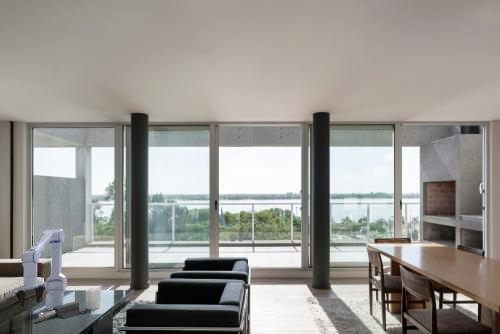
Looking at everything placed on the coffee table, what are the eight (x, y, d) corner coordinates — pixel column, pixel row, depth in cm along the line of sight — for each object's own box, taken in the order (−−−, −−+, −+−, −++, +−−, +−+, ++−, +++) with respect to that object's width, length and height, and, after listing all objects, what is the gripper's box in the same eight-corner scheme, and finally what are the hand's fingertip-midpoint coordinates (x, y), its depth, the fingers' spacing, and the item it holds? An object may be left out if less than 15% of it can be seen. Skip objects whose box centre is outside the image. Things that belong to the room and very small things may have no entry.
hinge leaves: (65, 318, 188) (65, 309, 189) (46, 314, 196) (46, 306, 197) (86, 311, 198) (86, 303, 199) (67, 308, 207) (67, 300, 207)
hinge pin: (42, 321, 185) (42, 313, 185) (37, 320, 186) (38, 312, 187) (68, 313, 197) (68, 306, 197) (64, 312, 198) (64, 305, 199)
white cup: (95, 309, 201) (95, 290, 202) (82, 309, 203) (82, 290, 204) (104, 305, 209) (104, 287, 210) (91, 305, 211) (91, 287, 212)
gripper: (19, 279, 175) (19, 309, 174) (49, 273, 187) (49, 301, 186) (11, 278, 178) (11, 307, 177) (41, 272, 191) (41, 300, 190)
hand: (30, 304), depth 182 cm, fingers open, 7 cm apart
